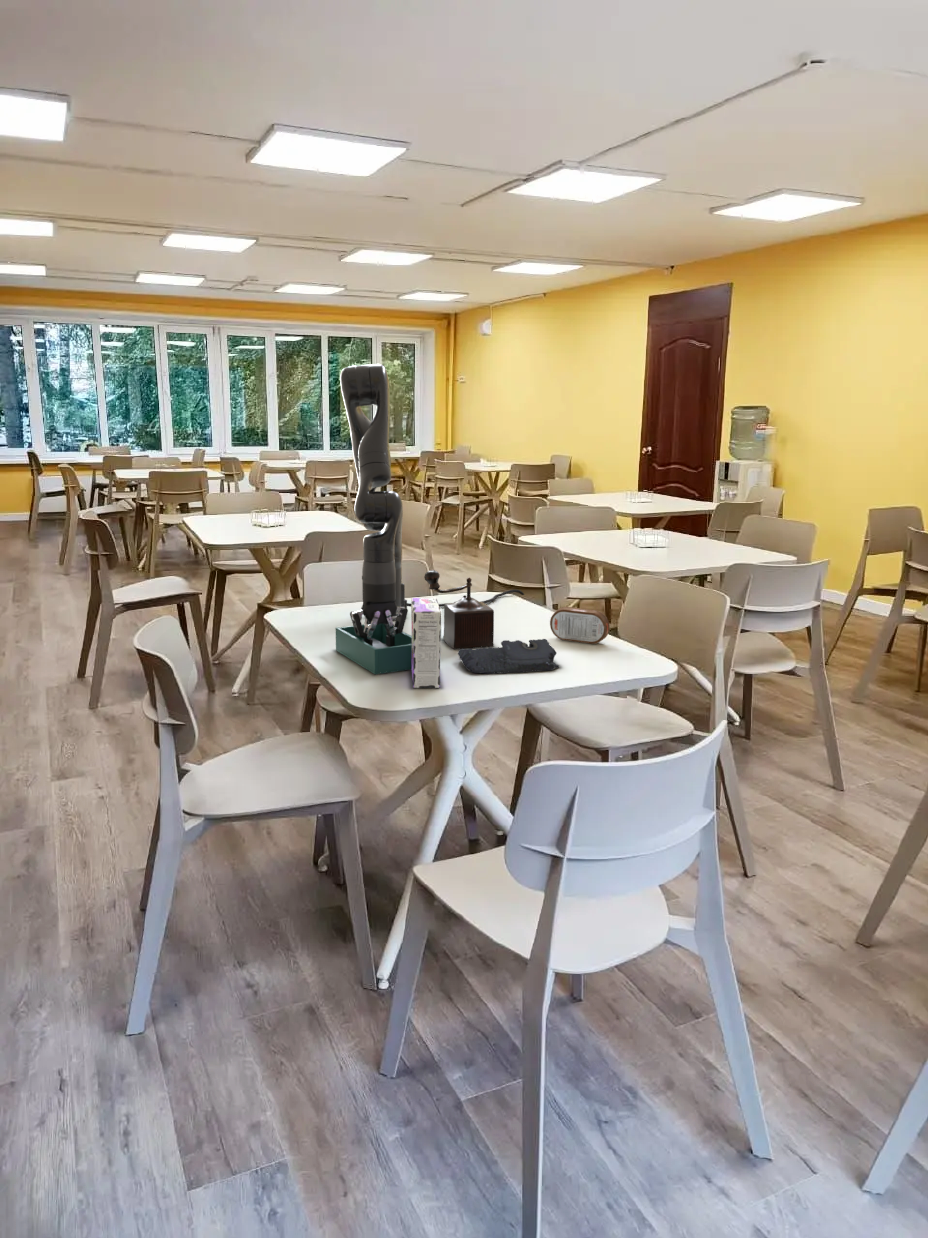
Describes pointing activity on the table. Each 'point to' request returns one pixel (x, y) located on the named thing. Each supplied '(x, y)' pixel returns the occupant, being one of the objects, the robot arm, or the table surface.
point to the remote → (378, 644)
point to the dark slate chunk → (510, 657)
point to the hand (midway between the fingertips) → (379, 652)
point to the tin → (579, 625)
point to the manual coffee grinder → (465, 618)
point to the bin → (375, 650)
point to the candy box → (425, 642)
